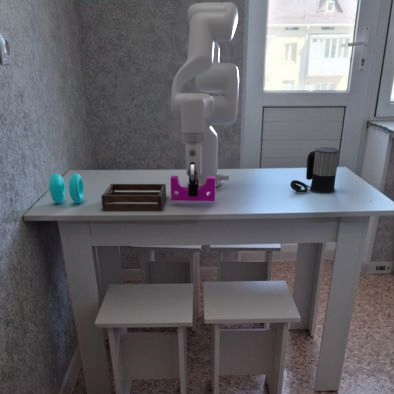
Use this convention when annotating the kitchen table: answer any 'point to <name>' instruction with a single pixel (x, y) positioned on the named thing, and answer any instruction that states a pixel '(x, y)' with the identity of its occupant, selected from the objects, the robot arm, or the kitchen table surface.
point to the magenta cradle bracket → (202, 190)
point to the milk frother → (320, 171)
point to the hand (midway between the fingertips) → (193, 193)
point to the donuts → (59, 188)
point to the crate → (134, 197)
